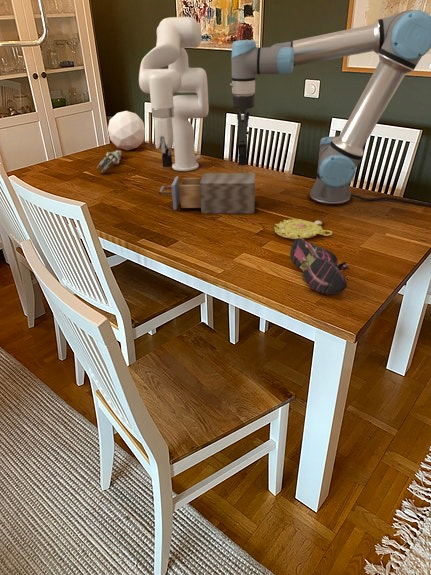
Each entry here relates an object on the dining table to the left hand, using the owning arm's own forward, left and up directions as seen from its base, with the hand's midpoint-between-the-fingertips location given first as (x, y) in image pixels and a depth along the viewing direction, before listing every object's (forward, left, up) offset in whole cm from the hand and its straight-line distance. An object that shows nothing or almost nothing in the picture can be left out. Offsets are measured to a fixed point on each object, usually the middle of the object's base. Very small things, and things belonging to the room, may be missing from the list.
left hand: (167, 166), depth 159 cm
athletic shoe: (+16, +69, -16) cm, 73 cm away
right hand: (-14, +23, +2) cm, 27 cm away
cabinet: (-12, +18, -16) cm, 27 cm away
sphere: (-50, -74, -16) cm, 91 cm away
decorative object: (-7, +51, -16) cm, 54 cm away
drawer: (-4, +7, -15) cm, 17 cm away
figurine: (-24, -60, -16) cm, 66 cm away
